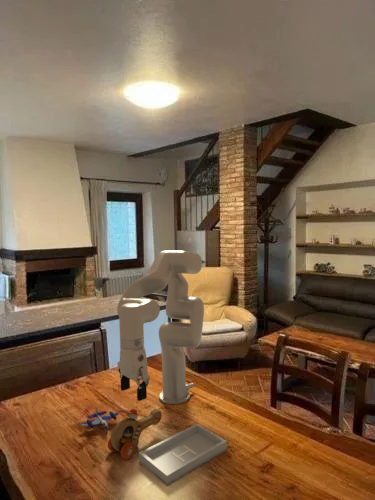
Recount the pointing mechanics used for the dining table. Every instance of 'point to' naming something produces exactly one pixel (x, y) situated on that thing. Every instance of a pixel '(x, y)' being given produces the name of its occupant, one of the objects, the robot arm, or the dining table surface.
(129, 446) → the toy helicopter
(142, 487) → the dining table surface
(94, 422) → the toy airplane
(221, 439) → the tray
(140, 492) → the dining table surface
